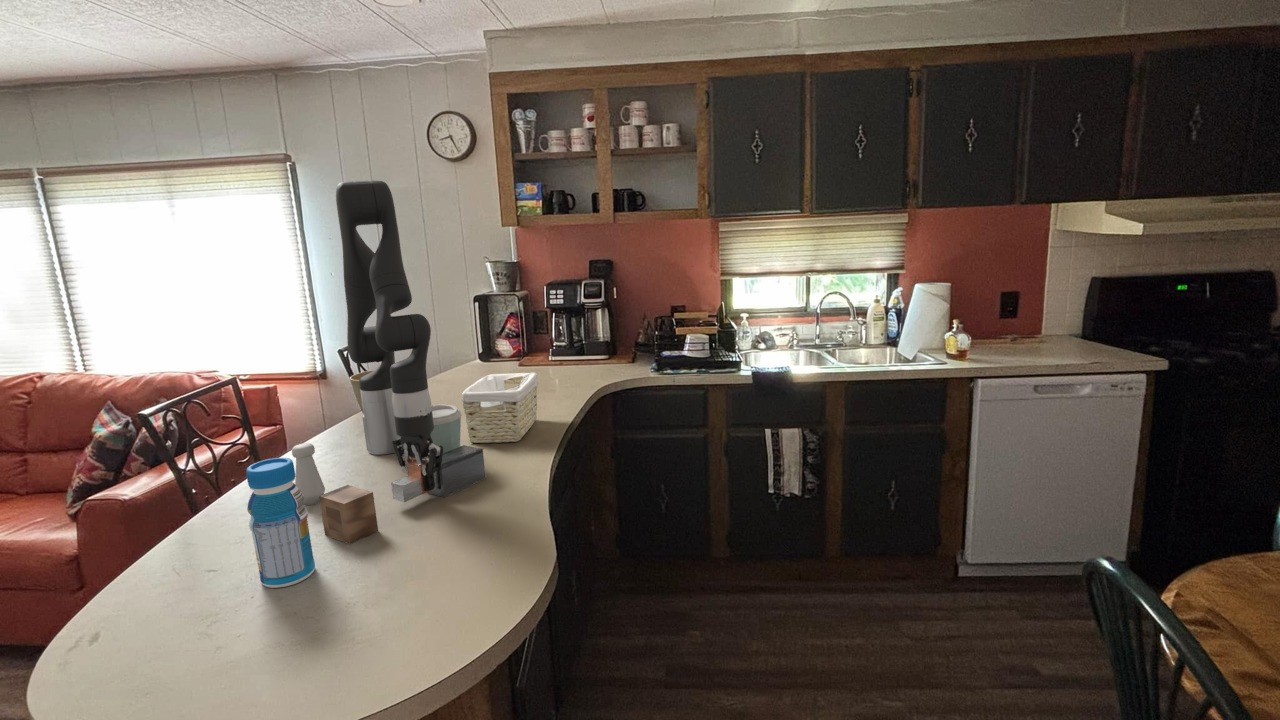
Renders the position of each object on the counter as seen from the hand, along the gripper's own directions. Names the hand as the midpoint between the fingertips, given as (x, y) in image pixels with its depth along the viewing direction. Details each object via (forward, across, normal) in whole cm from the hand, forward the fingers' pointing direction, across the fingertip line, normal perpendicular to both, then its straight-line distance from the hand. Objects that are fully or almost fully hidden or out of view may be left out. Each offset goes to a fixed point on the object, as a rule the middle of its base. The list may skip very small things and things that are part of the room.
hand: (422, 487), depth 136 cm
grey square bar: (+1, 0, +4) cm, 5 cm away
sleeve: (+3, 0, +9) cm, 9 cm away
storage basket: (+3, -18, +44) cm, 47 cm away
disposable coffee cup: (+3, -11, +15) cm, 19 cm away
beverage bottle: (+3, +5, -32) cm, 33 cm away
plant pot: (+3, -58, +32) cm, 66 cm away
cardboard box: (+3, 0, -17) cm, 17 cm away
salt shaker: (+3, -22, -12) cm, 25 cm away
